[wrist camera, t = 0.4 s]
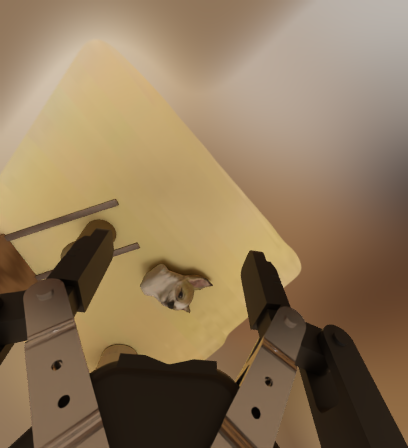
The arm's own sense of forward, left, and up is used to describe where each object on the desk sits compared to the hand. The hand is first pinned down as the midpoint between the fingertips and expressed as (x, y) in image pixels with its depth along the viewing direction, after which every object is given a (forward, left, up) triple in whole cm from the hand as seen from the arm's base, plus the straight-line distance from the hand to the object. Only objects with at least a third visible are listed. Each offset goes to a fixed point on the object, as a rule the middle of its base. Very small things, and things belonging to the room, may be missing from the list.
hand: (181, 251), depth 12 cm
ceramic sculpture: (-22, +10, -30) cm, 38 cm away
